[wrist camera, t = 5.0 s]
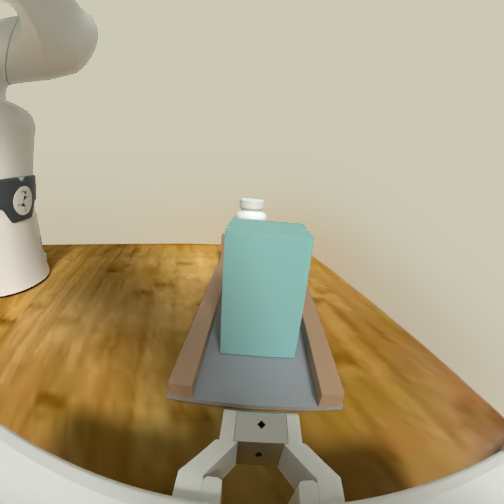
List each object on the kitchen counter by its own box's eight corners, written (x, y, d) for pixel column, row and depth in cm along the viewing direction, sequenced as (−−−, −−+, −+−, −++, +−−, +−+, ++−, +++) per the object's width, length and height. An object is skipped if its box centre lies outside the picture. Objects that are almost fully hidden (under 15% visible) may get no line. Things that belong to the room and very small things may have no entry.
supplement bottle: (250, 262, 46) (254, 202, 43) (225, 254, 49) (228, 198, 46) (269, 256, 50) (274, 201, 47) (245, 248, 53) (249, 197, 50)
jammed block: (220, 352, 22) (225, 230, 19) (226, 322, 27) (232, 218, 24) (294, 358, 22) (313, 238, 19) (289, 326, 27) (303, 223, 24)
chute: (167, 398, 17) (160, 348, 16) (221, 260, 46) (223, 233, 44) (341, 409, 17) (359, 362, 16) (296, 266, 46) (300, 239, 44)
